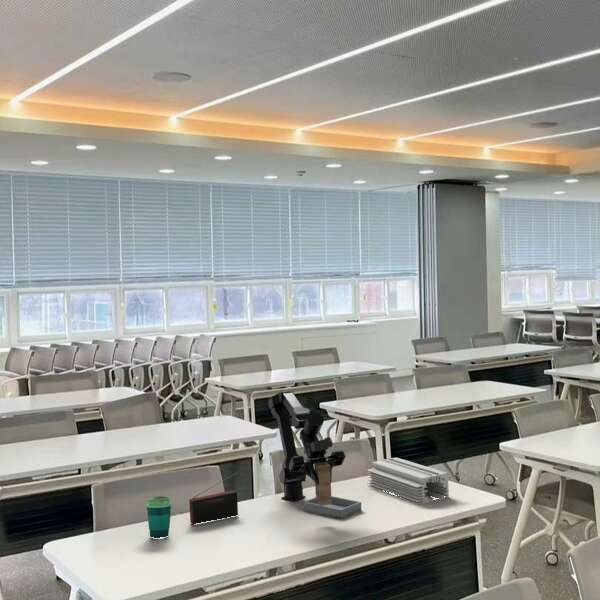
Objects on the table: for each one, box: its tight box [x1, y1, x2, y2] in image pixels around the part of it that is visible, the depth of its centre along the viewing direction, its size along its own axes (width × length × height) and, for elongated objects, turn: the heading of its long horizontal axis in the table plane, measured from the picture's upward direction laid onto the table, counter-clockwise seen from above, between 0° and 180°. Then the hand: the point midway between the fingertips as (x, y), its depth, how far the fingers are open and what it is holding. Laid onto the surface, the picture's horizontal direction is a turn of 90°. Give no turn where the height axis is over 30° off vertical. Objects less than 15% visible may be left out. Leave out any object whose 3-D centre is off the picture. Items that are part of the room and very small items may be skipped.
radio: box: [188, 471, 240, 525], centre depth 268 cm, size 19×3×15 cm, turn 120°
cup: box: [145, 495, 173, 538], centre depth 254 cm, size 8×8×12 cm
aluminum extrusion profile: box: [366, 456, 450, 506], centre depth 292 cm, size 14×31×10 cm, turn 30°
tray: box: [302, 495, 362, 520], centre depth 273 cm, size 17×11×3 cm, turn 48°
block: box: [313, 462, 332, 506], centre depth 260 cm, size 4×4×13 cm
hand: (324, 483), depth 259 cm, fingers closed on block, 4 cm apart
